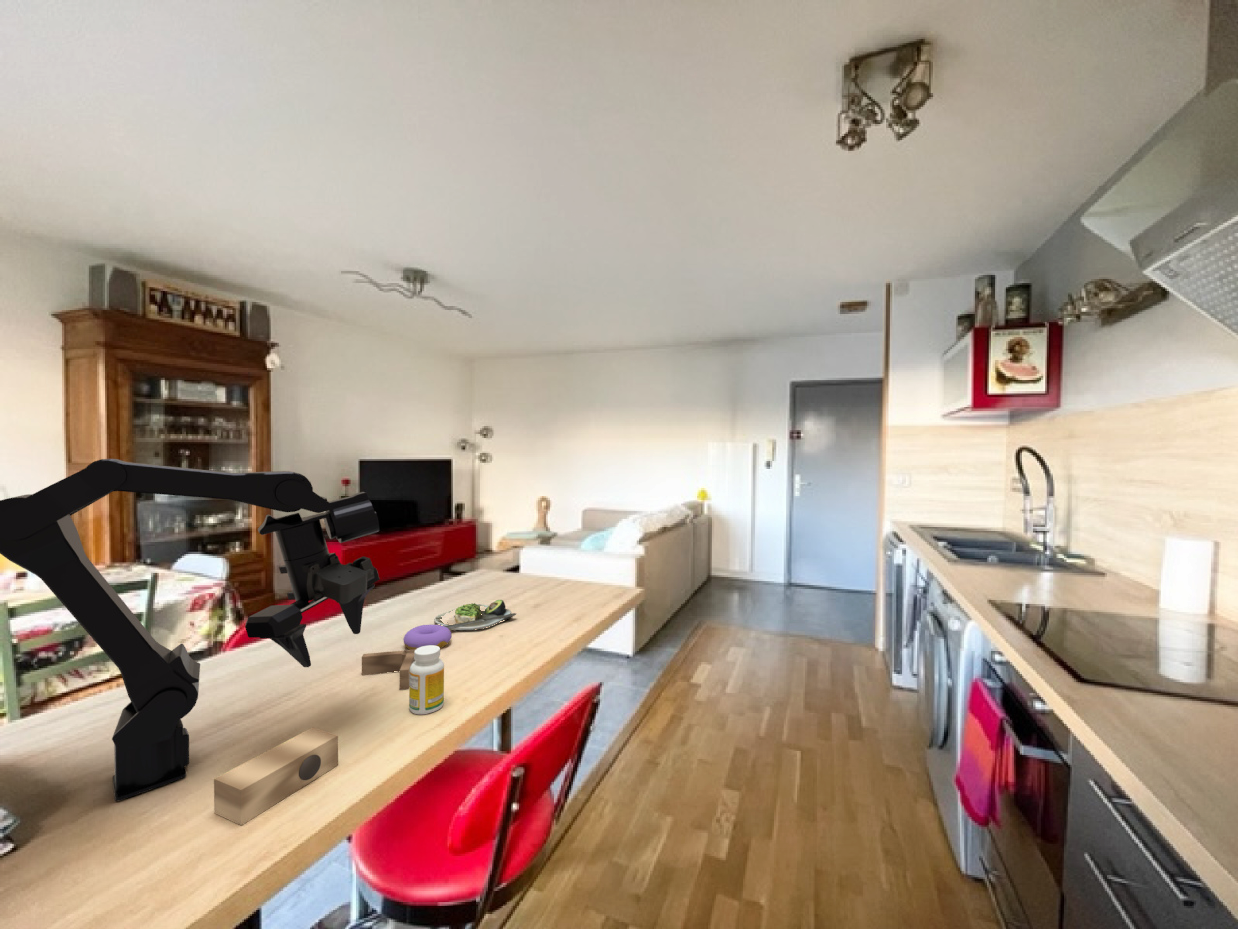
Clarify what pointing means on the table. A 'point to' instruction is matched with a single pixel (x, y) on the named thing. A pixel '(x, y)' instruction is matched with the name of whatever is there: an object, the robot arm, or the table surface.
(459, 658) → the table surface
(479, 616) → the salad plate
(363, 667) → the v block
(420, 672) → the supplement bottle
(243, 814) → the beam
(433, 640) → the donut
